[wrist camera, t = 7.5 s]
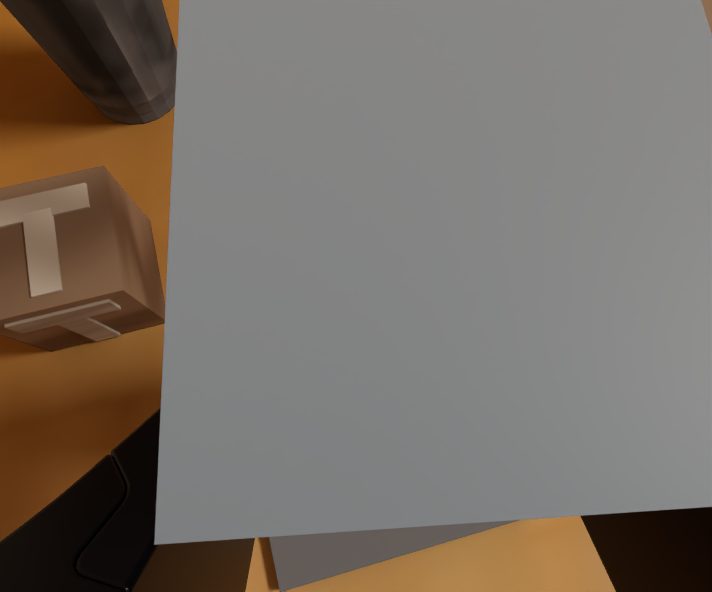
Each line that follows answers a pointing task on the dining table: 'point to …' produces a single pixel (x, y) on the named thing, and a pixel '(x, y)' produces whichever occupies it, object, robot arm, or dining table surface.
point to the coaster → (356, 549)
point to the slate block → (436, 265)
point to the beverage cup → (108, 51)
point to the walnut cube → (75, 262)
